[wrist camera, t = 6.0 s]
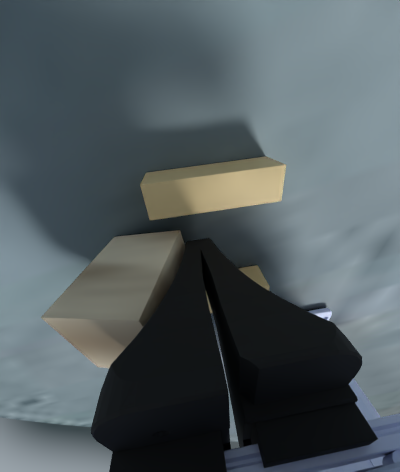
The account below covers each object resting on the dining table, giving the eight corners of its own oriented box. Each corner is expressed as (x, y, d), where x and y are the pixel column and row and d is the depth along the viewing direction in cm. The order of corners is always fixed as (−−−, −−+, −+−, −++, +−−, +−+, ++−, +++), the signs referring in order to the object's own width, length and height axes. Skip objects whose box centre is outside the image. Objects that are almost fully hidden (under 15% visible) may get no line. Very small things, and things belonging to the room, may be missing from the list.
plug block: (197, 283, 12) (176, 375, 8) (141, 284, 13) (97, 366, 9) (179, 229, 10) (138, 320, 6) (114, 236, 11) (40, 317, 7)
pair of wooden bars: (256, 281, 14) (267, 303, 13) (176, 294, 14) (177, 319, 12) (266, 156, 10) (286, 164, 8) (145, 172, 9) (140, 185, 8)
